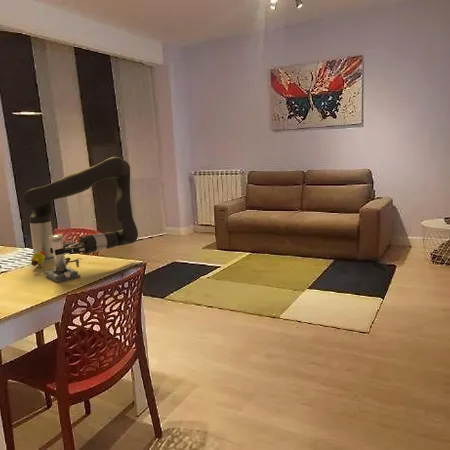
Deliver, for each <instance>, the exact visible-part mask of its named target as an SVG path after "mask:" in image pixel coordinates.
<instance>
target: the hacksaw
mask: <svg viewBox="0 0 450 450" xmlns="http://www.w3.org/2000/svg"><path fill="white" fill-rule="evenodd" d="M79 260H80V261H82V260H83V259H82V258H76V259H73V260H71V257H65V262H66V266H68V265H69V263H74V262H75V265H76V266H75V267H76V268H80V261H79Z"/></svg>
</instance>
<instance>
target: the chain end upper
mask: <svg viewBox="0 0 450 450" xmlns="http://www.w3.org/2000/svg"><path fill="white" fill-rule="evenodd" d="M66 268H67V269H66V270H64V271H56V268H55V266H54V267H53V268H52V269H46V270H44V275H46V276H47V275H48V276H50V277H52V278H54V279H60V278H64V277H65V274H64V273H63V274H57V273H62V272H67V271H70V274H71V276H72V275H76V274H79V273H78V270H76V269H74V268H71V267H69V266H68V265H66Z"/></svg>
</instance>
